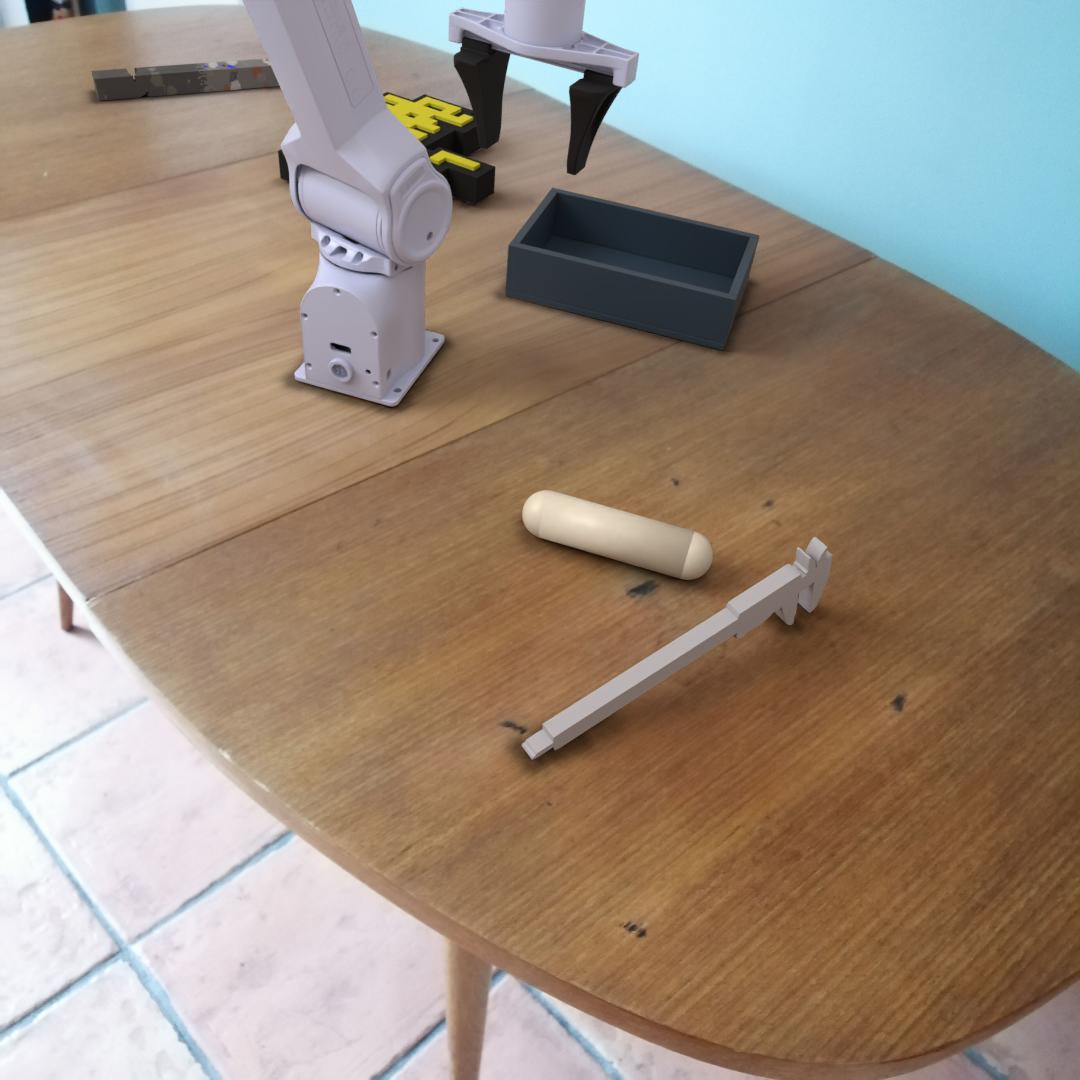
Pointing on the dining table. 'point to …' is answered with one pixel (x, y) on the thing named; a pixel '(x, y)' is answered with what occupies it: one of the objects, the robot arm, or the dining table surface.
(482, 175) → the toy
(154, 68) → the pillar
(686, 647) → the caliper
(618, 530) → the cream capsule shape
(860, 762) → the dining table surface
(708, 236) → the bin
